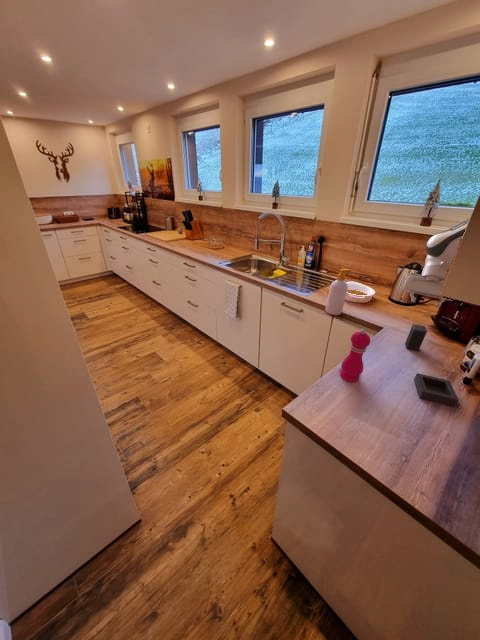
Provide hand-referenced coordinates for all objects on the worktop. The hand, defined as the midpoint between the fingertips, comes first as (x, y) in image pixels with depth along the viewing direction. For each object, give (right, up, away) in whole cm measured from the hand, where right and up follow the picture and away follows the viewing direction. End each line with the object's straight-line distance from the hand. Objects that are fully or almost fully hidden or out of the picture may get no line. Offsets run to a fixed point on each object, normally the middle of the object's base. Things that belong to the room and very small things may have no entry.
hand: (425, 304), depth 115 cm
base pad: (-16, -32, -26) cm, 44 cm away
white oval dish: (-11, +8, +48) cm, 50 cm away
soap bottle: (-30, -3, +27) cm, 41 cm away
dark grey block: (-7, -19, -1) cm, 20 cm away
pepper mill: (-42, -28, -20) cm, 54 cm away
